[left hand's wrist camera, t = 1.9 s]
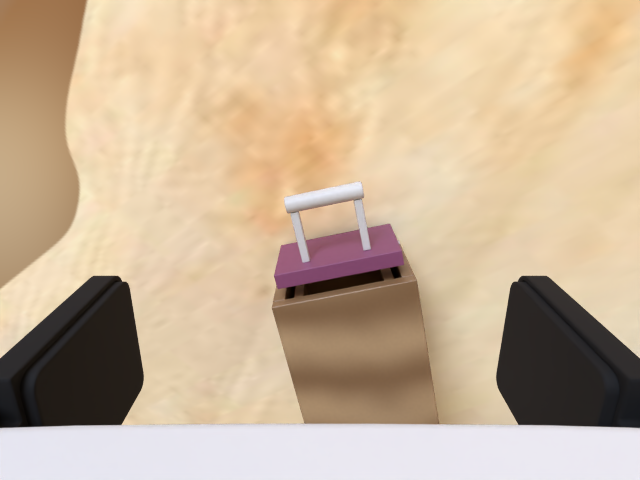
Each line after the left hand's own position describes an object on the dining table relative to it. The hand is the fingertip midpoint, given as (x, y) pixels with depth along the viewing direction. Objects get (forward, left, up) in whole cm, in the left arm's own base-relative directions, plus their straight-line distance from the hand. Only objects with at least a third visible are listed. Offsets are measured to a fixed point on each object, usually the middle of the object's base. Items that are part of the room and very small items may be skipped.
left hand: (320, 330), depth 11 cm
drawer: (-4, +11, -28) cm, 30 cm away
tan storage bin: (-6, +16, -29) cm, 33 cm away
